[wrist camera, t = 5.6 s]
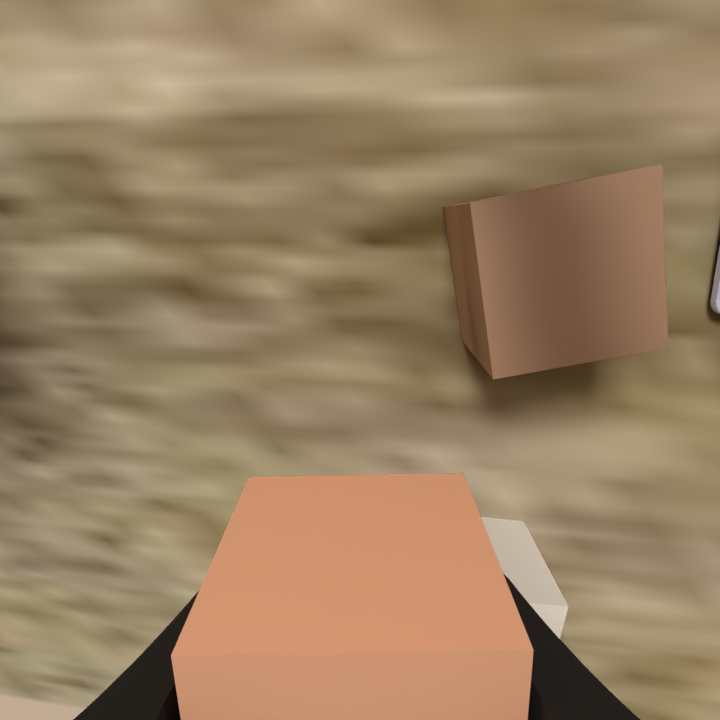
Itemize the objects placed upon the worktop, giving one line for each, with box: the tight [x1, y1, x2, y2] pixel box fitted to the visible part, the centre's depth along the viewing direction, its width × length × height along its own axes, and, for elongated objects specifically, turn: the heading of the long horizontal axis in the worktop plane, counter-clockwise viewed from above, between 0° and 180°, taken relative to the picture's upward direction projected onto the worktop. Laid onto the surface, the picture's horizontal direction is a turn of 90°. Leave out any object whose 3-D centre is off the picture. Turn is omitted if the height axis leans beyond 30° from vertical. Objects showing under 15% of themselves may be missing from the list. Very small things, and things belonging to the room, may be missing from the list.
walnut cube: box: [443, 164, 668, 380], centre depth 16 cm, size 5×5×5 cm
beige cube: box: [481, 517, 568, 639], centre depth 20 cm, size 5×5×5 cm
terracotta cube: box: [171, 473, 534, 720], centre depth 10 cm, size 5×5×5 cm
